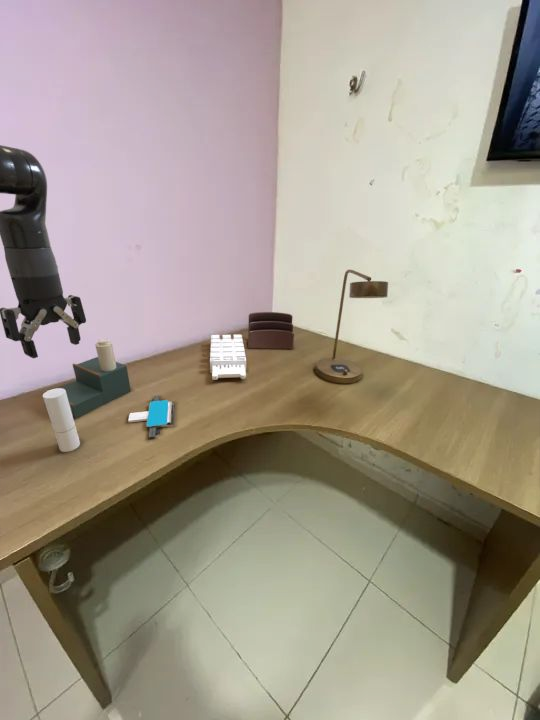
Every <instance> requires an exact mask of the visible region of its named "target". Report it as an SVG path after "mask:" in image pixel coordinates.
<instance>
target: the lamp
mask: <svg viewBox="0 0 540 720" xmlns="http://www.w3.org/2000/svg"><path fill="white" fill-rule="evenodd" d="M349 274H352V275H356V276H358V277H360V278H362V279H363V280H365V281H353V282H350V283H349V293H348V294H349V295H348V297H349V298H350V299H383V298H388V295H389V293H388V292H389V281H385V280H383V281H382V280H372V277H371V276H369V275H366V274H364V273H361V272H359V271H356V270H354V269H347V270H346V271H345V273H344V276H343V282H342V289H341V296H340V301H339V308H338V309H339V310H338V316H337V323H336V330H335V336H334V345H333V351H332V356H330V357H324V358H321V359H319V360H318V361H316V364H315V373H316V375H317V376H318V377H319V378H321V379H323V380H325V381H327V382H330V383H332V384H333V383H334V384H340V385H349V384H354V383H357V382H359V381H360V380H361V378H362V377H363V376H362V375H363V368H362V366H361V365H360V364H359V363H358V362H356V361H353V360H352V359H348V358H343V357H336V356H337V355H336V354H337V348H338V342H339V334H340V328H341V320H342V313H343V307H344V300H345V294H346V286H347V280H348V275H349Z"/></svg>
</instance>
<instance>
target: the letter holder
mask: <svg viewBox="0 0 540 720" xmlns="http://www.w3.org/2000/svg"><path fill="white" fill-rule="evenodd" d="M293 318H294V317H293V315H292V314H290V313H287V312H286V313H285V312H277V311H261V312H250V313H249V314H248V330H247V332H248V334H247V348H248V349H259V350H260V349H261V350H263V349H265V350H266V349H267V350H293V349H294V343H295V333H294V324H293Z"/></svg>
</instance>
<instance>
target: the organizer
mask: <svg viewBox="0 0 540 720" xmlns="http://www.w3.org/2000/svg"><path fill="white" fill-rule="evenodd" d="M231 335H232V334H222V338H221V337H220V336H221V335H220V334H211V335H210V337H211V338H210V350H209V351H210V353H209V357H210V358H209V370H210V371H209V373H210V374H211V378H212V379H211V380H213V381H216V380H218V379H224V378H227V379H228V378H240V379H241V380H242V379H243V380H245V379H247V357H246V352H245V351H246V350H245V345H244V340H243V335H242V334H233V338H232V336H231Z"/></svg>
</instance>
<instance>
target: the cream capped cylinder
mask: <svg viewBox="0 0 540 720" xmlns="http://www.w3.org/2000/svg"><path fill="white" fill-rule="evenodd" d="M95 351H96V354H97V357H98V360H99V365H100V369H101V371H112V370H114V369H116V367H117V366H116V362H117V361H116V356H115V351H114V345H113V342H112V341H111V340H109V339H108V338H101V339H98V340H97V342H96V343H95Z"/></svg>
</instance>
